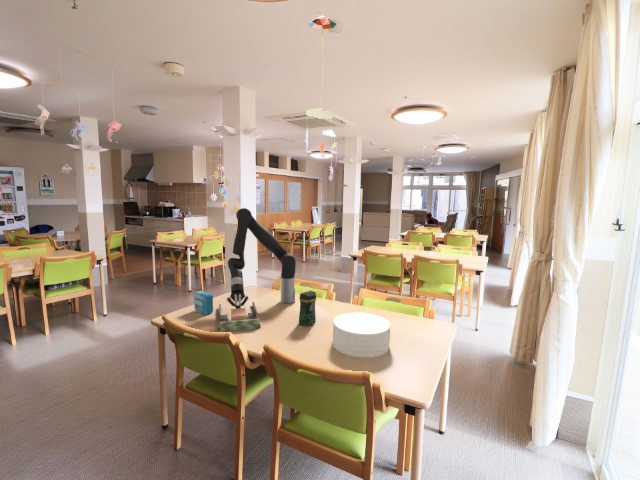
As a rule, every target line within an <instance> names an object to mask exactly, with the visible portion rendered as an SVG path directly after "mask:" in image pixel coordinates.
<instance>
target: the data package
mask: <svg viewBox="0 0 640 480" xmlns="http://www.w3.org/2000/svg"><path fill="white" fill-rule="evenodd" d="M193 296H194V297H193V299H194V311H195V312H197V313H201V314H204V315H209V314H211V313H213V311H214V295H213V293H210V292H207V291H203V290H199V291H196V292H194V295H193Z"/></svg>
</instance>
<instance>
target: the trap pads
mask: <svg viewBox="0 0 640 480" xmlns="http://www.w3.org/2000/svg"><path fill="white" fill-rule="evenodd" d="M228 317H229V316H228V314H221V321H229V320H228V319H229V318H228ZM247 317H248V319H256V317H255V313H254V312H247Z"/></svg>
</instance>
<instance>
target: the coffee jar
mask: <svg viewBox="0 0 640 480" xmlns="http://www.w3.org/2000/svg"><path fill="white" fill-rule="evenodd" d="M316 300H317V293H316V292H315V291H313V290H309V291H305V292H301V293H300V294H299V303H300V304H299V305H300V306H299V315H298V316H299V317H298V323H299V324H300V325H301V326H311V325H313V324H315V323H316V321H317V320H316Z"/></svg>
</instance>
